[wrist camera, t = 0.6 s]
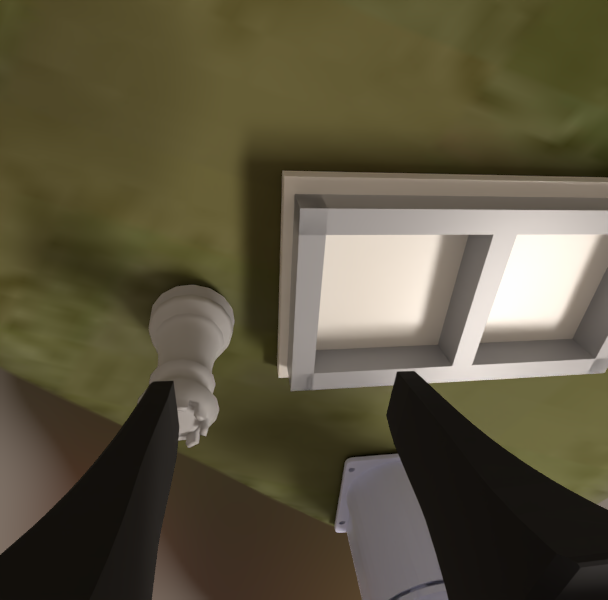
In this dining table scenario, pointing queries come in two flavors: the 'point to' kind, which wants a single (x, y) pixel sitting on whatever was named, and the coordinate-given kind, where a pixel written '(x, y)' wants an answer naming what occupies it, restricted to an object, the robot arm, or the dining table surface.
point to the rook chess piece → (190, 352)
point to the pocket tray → (440, 277)
